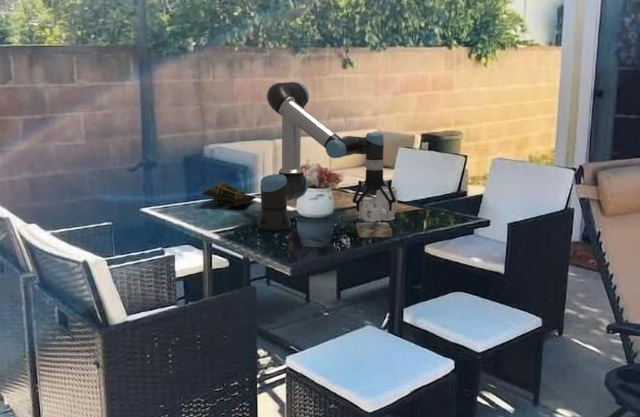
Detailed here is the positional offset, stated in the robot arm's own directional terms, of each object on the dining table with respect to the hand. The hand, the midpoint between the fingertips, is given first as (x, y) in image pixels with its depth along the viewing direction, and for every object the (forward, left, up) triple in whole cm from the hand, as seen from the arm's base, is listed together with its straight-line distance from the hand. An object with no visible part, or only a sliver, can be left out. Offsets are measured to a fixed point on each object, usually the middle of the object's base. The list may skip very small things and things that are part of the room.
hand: (373, 218), depth 294 cm
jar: (+9, +27, -7) cm, 29 cm away
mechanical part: (0, 0, -2) cm, 2 cm away
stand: (0, 0, -7) cm, 7 cm away
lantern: (-72, +64, -7) cm, 96 cm away
